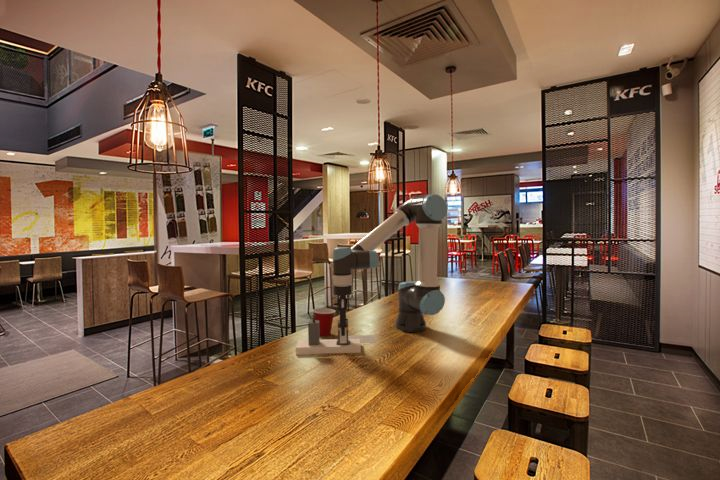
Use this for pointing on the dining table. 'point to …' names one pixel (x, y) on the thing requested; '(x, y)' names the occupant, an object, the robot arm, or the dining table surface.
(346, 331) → the plug
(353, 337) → the white flat slab
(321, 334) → the plastic cup
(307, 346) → the socket stand
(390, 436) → the dining table surface
